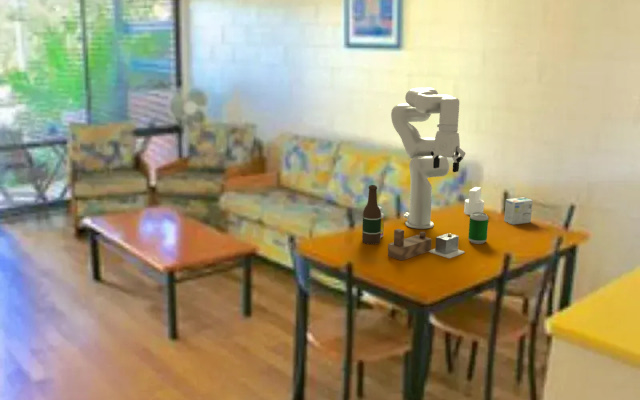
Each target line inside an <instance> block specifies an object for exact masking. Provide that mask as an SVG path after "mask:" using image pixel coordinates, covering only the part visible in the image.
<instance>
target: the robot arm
mask: <svg viewBox="0 0 640 400" xmlns="http://www.w3.org/2000/svg"><path fill="white" fill-rule="evenodd" d="M405 93H406V94H405V98H404V99H405V101H406V103H399V104H397V105H395V106H393V107H392V109H391V113H390V114H391V115H390V117H391V122H392V127H393V129H395V132H396V133H397V135H398V136H399V137H400V140H401V141H402V144H403V145H402V146H403V147H404V150H405V152H406V154H407V156H408V158H409V159H411V160H410V161H409V165H408V166H409V174H410V194H409V195H410V196H409V212H406V211H405V213H403V216H402V217H403V218H406V219H407V220H406V221H405V226H407V227H408V228H410V229H411V228H412V229H417V230H418V229H419V230H425V229H430V228H431V229H432V228H433V227H434V222H433V221H431V219H432V201H433V200H432V199H433V186H432V184H431V183H430V181H429V179H428V178H440V177H444V176H446V175H448V173H449V171H450V162H449V159H448V158H451V159H452V161H453V163H452V173H457V172H459V169H460V163H461V161H462V160H464V157H465V155H466V152H465V151H464V150H463V149H462V148H460V146H461V145H460V142H461V141H460V134H459V133H460V132H459V131H458V130H459V116H460V114H459V113H460V99H459V97H453V96H452V95H450V94H439V93H438V91H437V89H435V88H434V87H415V88H411V89H409V90H408V91H406V92H405ZM432 114H434V115H435V114H439V121H438V123H437V124H436V127H437V128H438V130H437V131H436V133H435V137H422V136H421V135H420V131H419V130H418V129H417V128H416V127H415V126H414V125H413V124H411V123H417V122H418V123H421V122H426V121H427V120H429V119H430V117H431V116H432Z"/></svg>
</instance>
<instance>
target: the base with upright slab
mask: <svg viewBox="0 0 640 400" xmlns="http://www.w3.org/2000/svg"><path fill="white" fill-rule="evenodd" d="M468 191H469V192H468V193H469V194H468V198H466V199H465V200H464V207H463V208H464V210H463V213H464V214H465V215H467V216H470V215H471V214H472V213H475V212H481V213H484V206H485V205H484V204H485V201H484V200H483V199H481V194H482V187H480V186H474V187H473V188H471V189H469V190H468Z"/></svg>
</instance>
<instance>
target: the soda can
mask: <svg viewBox="0 0 640 400" xmlns="http://www.w3.org/2000/svg"><path fill="white" fill-rule="evenodd" d="M488 228H489V216H488V215H487V213H485V212H483V213H481V212H475V213H472V214H471V215H469V223H468V240H469V241H470V243H472V244H475V245H476V244H477V245H483V244H485V242H487V240H488Z"/></svg>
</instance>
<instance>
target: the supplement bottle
mask: <svg viewBox="0 0 640 400" xmlns="http://www.w3.org/2000/svg"><path fill="white" fill-rule="evenodd" d="M378 207H379V209H380V212H381V235H380V239H381V238H382V237H383V236H384V231H385V229H384V227H385V224H384V223H385V214H384V213H383V212H382V210H383V207H382V206H380V205H378Z"/></svg>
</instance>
